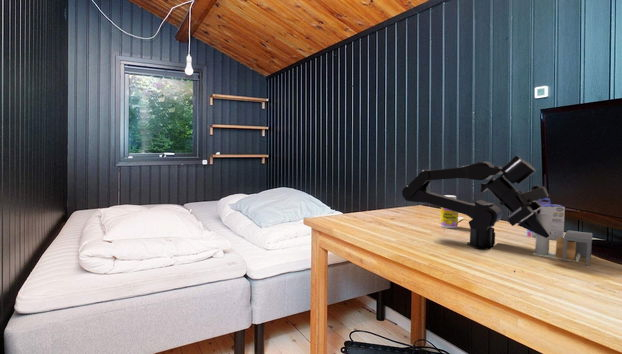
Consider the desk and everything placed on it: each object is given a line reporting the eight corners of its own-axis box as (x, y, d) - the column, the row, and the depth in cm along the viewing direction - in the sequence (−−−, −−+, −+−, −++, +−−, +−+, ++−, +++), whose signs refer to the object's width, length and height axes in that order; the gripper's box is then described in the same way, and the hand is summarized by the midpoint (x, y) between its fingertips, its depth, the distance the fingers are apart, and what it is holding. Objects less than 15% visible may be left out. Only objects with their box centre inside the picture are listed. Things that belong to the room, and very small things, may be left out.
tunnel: (562, 265, 87) (564, 236, 86) (566, 257, 94) (567, 230, 93) (588, 270, 83) (590, 239, 83) (590, 261, 90) (592, 233, 89)
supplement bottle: (440, 227, 131) (441, 196, 130) (440, 224, 137) (441, 194, 136) (458, 229, 129) (459, 197, 128) (457, 226, 135) (458, 195, 134)
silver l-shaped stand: (532, 257, 93) (534, 215, 92) (535, 253, 97) (538, 212, 96) (578, 266, 86) (581, 220, 85) (580, 260, 90) (582, 217, 89)
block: (555, 257, 90) (556, 239, 90) (557, 254, 93) (558, 237, 92) (574, 260, 87) (575, 242, 87) (575, 257, 90) (576, 239, 90)
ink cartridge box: (555, 238, 116) (558, 197, 115) (564, 242, 110) (567, 199, 109) (525, 236, 118) (527, 197, 117) (532, 240, 112) (534, 199, 111)
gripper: (523, 178, 88) (572, 224, 81) (535, 174, 102) (578, 214, 95) (489, 203, 94) (533, 248, 87) (505, 197, 107) (544, 235, 101)
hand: (548, 235), depth 92 cm, fingers closed on silver l-shaped stand, 3 cm apart
